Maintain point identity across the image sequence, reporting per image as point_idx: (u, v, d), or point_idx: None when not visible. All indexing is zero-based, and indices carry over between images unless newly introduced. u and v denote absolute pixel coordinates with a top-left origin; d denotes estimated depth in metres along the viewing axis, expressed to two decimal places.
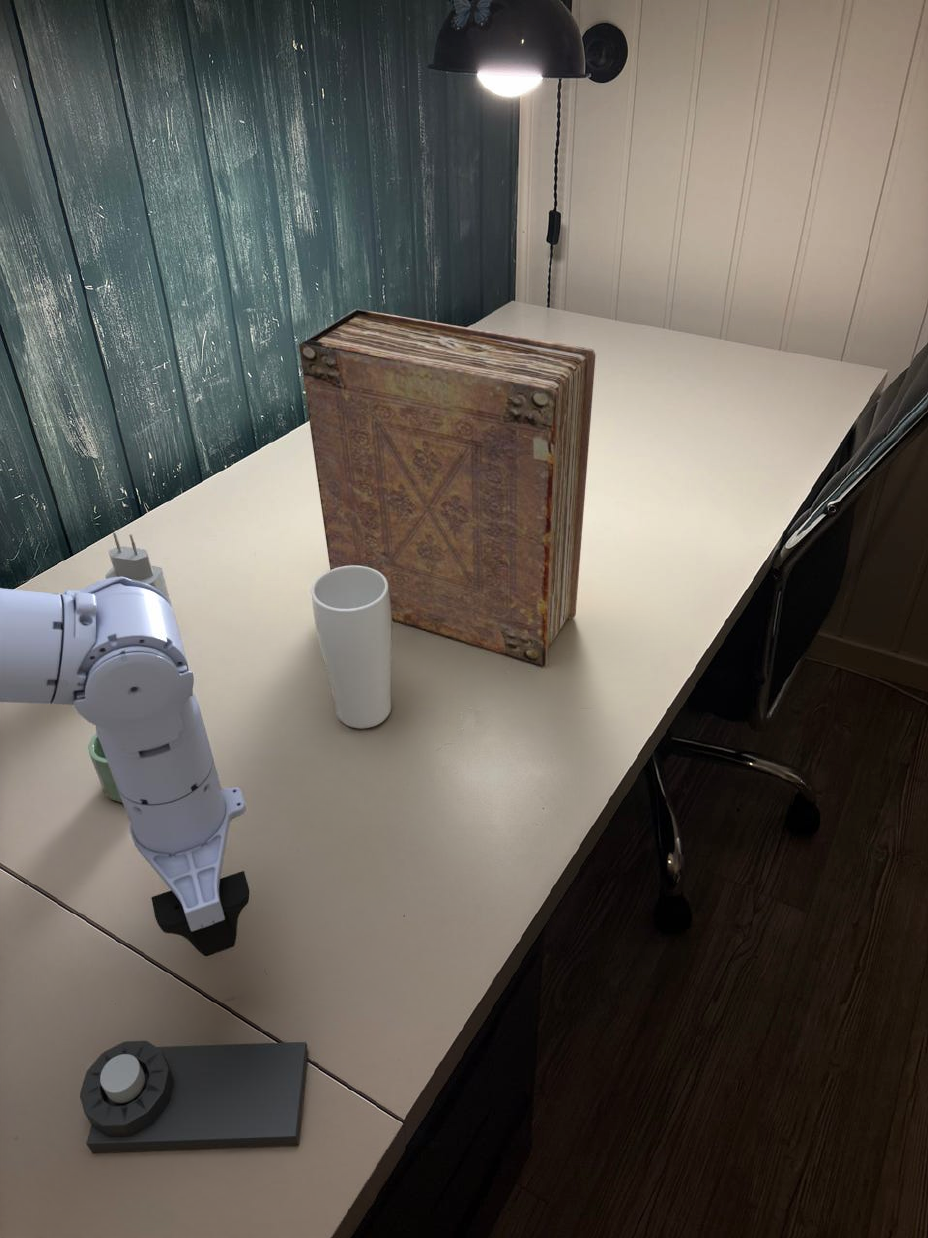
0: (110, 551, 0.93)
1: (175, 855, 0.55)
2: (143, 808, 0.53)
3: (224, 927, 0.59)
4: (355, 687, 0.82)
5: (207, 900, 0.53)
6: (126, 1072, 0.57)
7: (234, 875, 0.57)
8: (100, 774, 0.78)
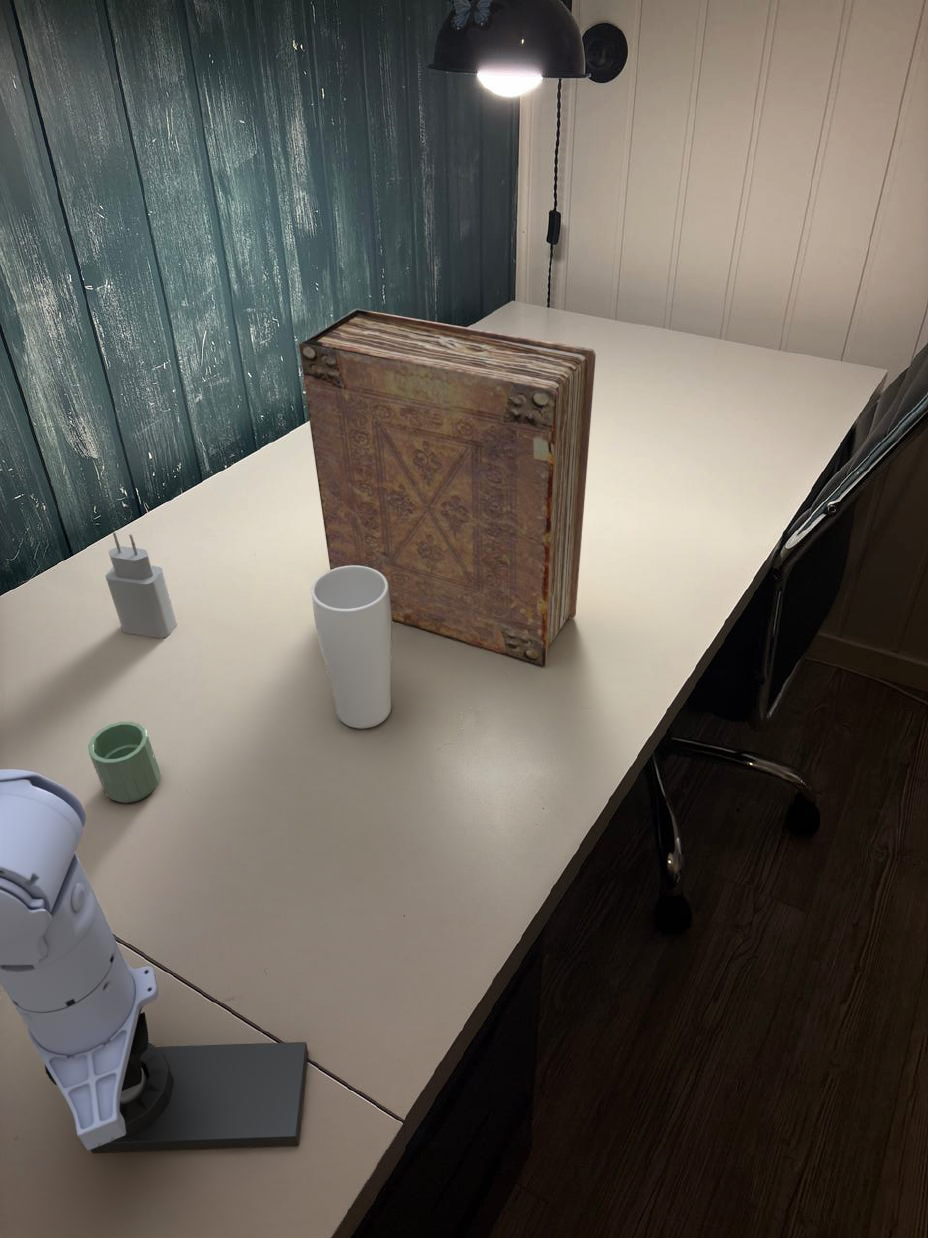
0: (110, 551, 0.93)
1: (74, 1057, 0.50)
2: (33, 1015, 0.48)
3: (127, 1067, 0.56)
4: (355, 687, 0.82)
5: (105, 1116, 0.48)
6: None
7: None
8: (100, 774, 0.78)
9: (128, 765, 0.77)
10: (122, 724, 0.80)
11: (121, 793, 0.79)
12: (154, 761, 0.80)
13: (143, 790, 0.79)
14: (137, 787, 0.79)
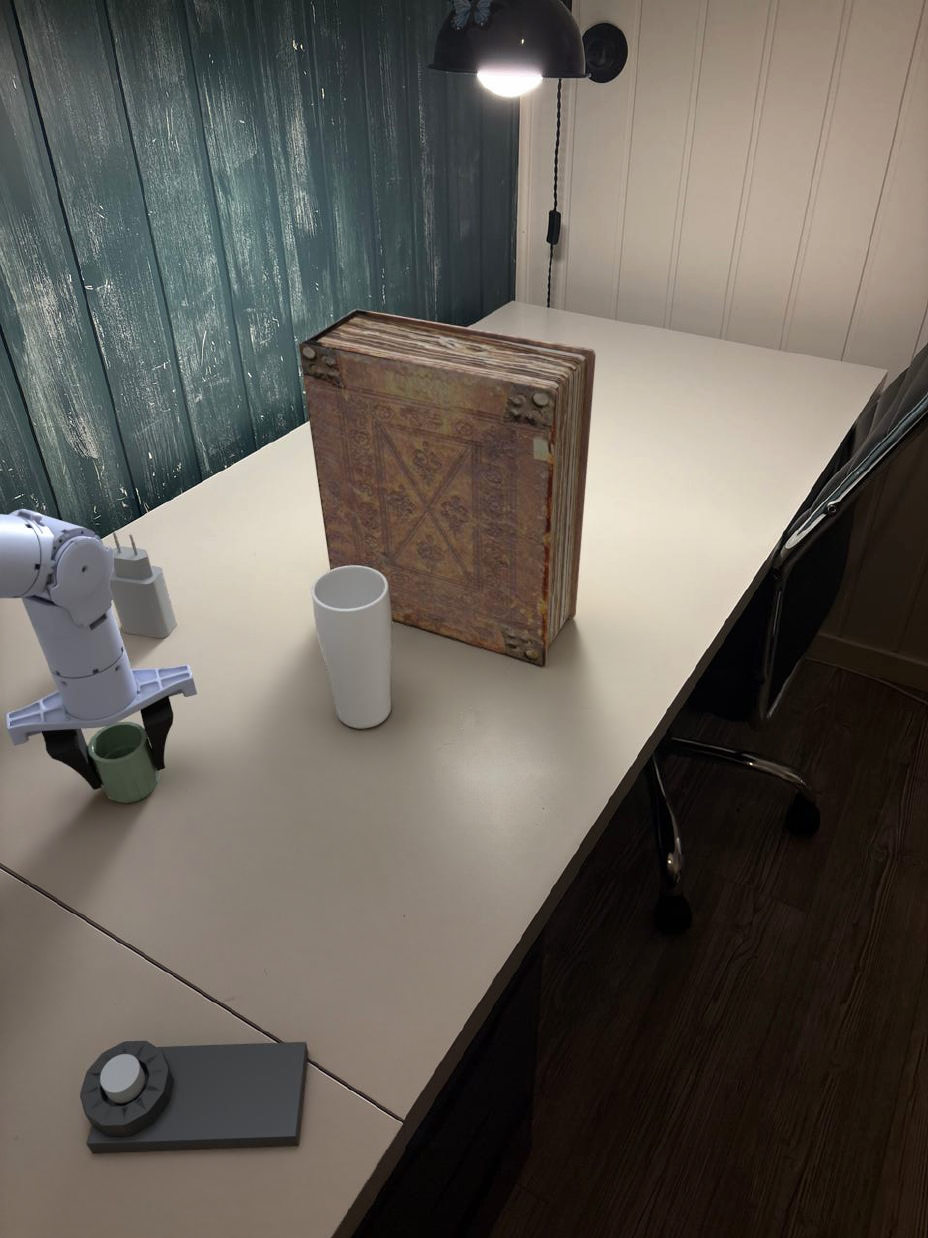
0: None
1: (138, 692, 0.75)
2: (120, 661, 0.72)
3: None
4: (355, 687, 0.82)
5: None
6: (126, 1072, 0.57)
7: None
8: (100, 774, 0.78)
9: (128, 765, 0.77)
10: (122, 724, 0.80)
11: (121, 793, 0.79)
12: (154, 761, 0.80)
13: (143, 790, 0.79)
14: (136, 787, 0.79)
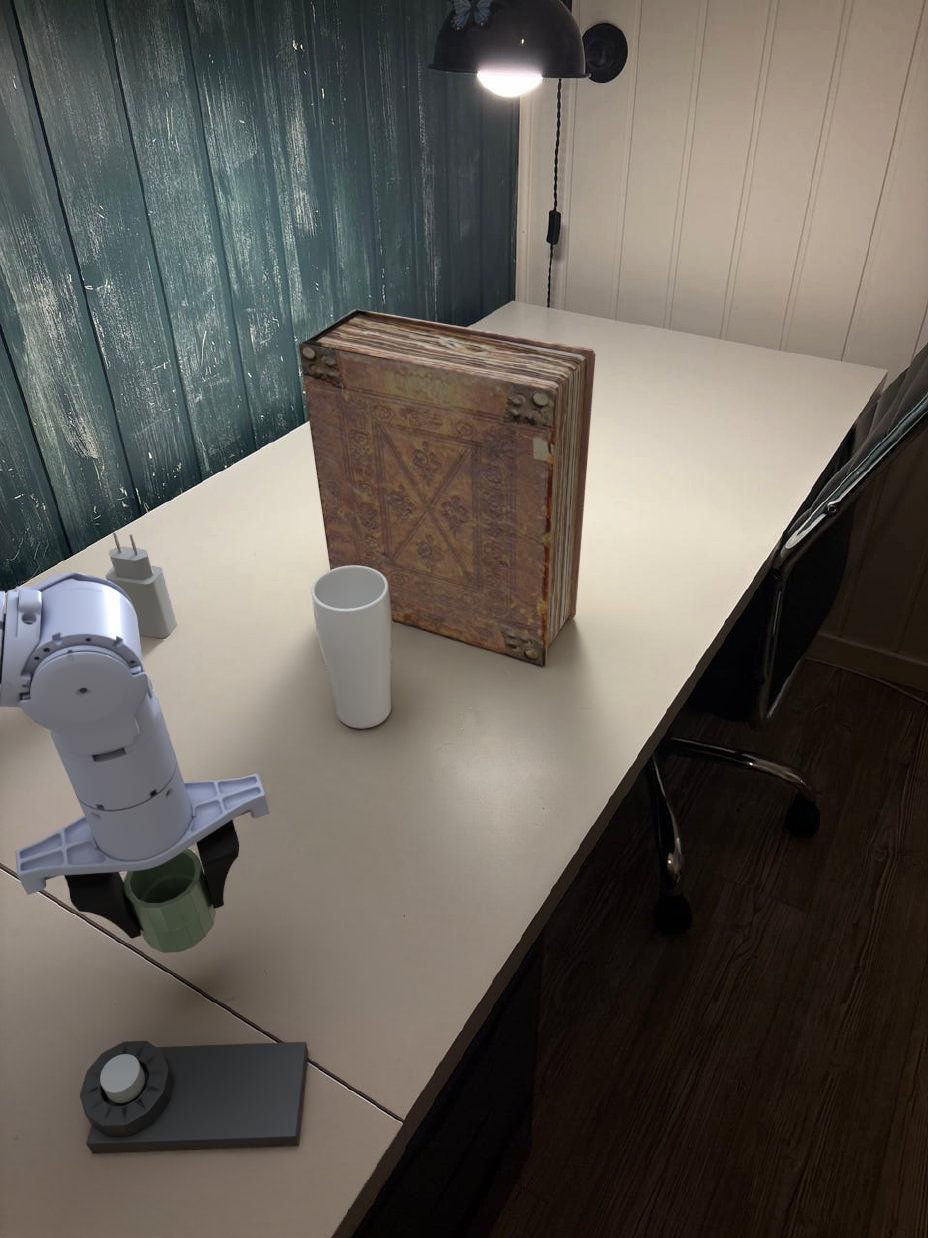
0: (110, 551, 0.93)
1: (194, 816, 0.56)
2: (172, 782, 0.52)
3: None
4: (355, 687, 0.82)
5: None
6: (126, 1072, 0.57)
7: None
8: (140, 920, 0.58)
9: (178, 910, 0.58)
10: None
11: (167, 943, 0.59)
12: (209, 897, 0.61)
13: (195, 937, 0.60)
14: (188, 934, 0.59)
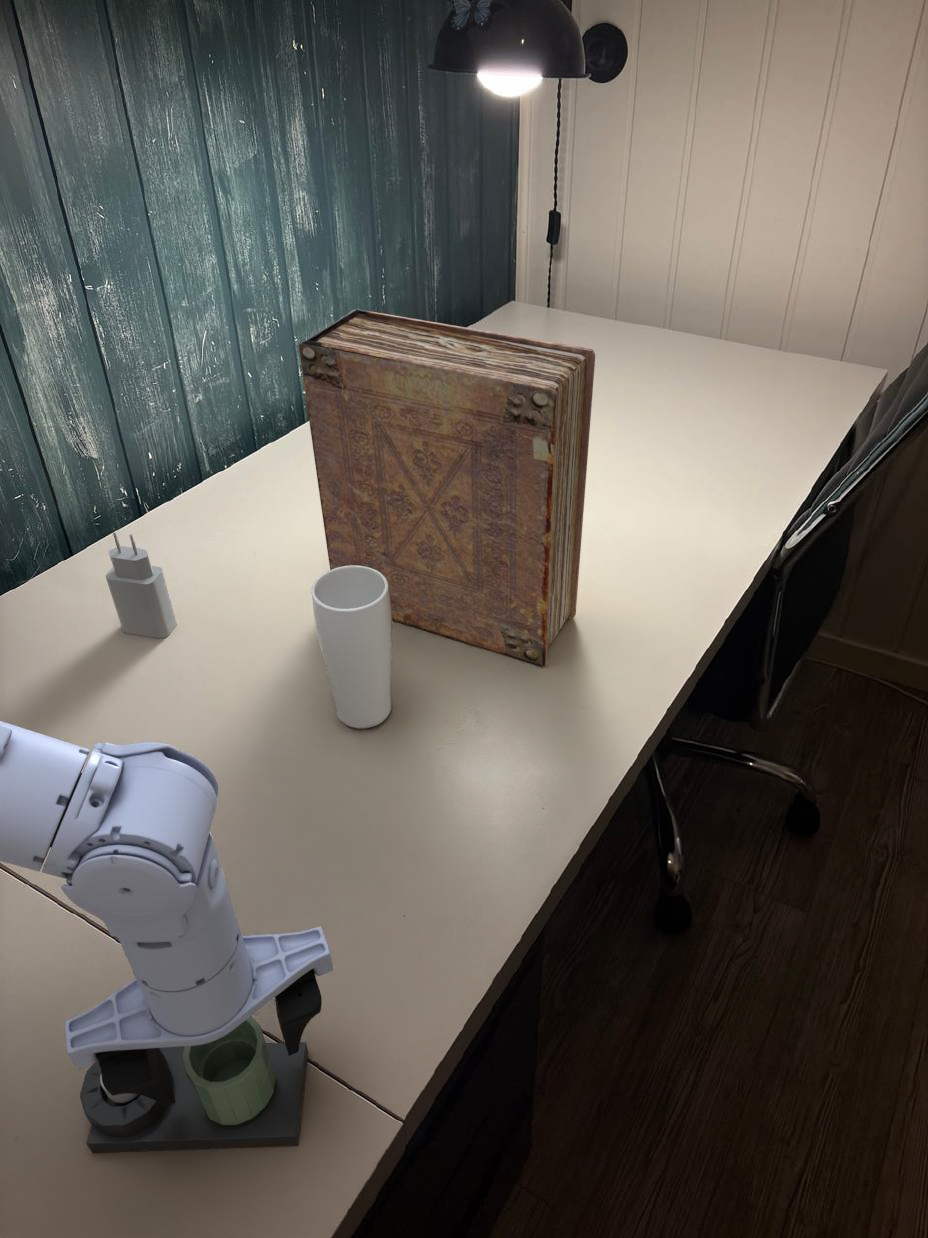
0: (110, 551, 0.93)
1: (255, 979, 0.52)
2: (236, 954, 0.48)
3: None
4: (355, 687, 0.82)
5: None
6: None
7: None
8: (199, 1096, 0.55)
9: (240, 1088, 0.55)
10: None
11: (227, 1117, 0.56)
12: (270, 1065, 0.58)
13: (256, 1109, 0.57)
14: (248, 1107, 0.57)
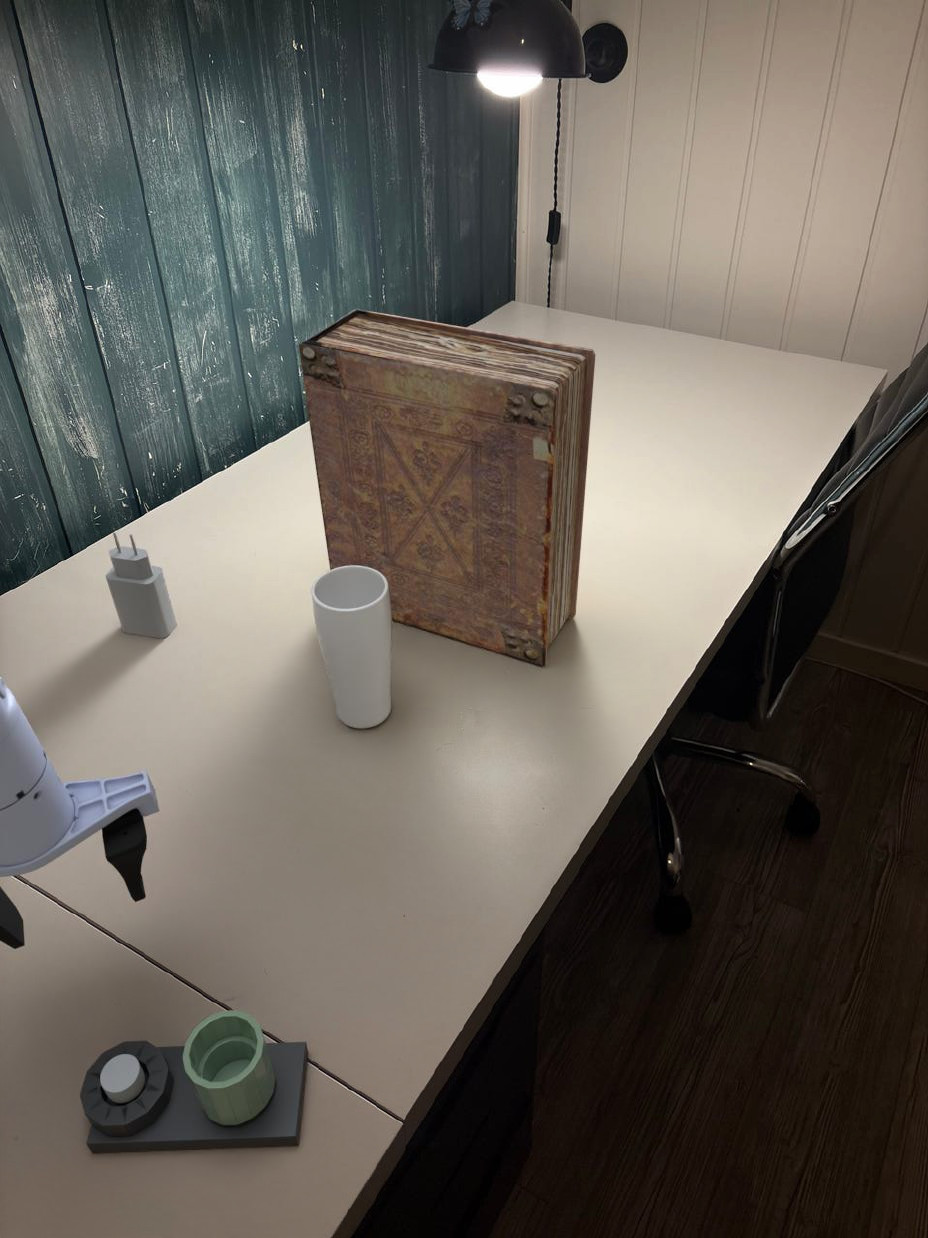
0: (110, 551, 0.93)
1: (76, 817, 0.54)
2: (41, 785, 0.51)
3: None
4: (355, 687, 0.82)
5: None
6: (126, 1072, 0.57)
7: None
8: (199, 1096, 0.55)
9: (240, 1088, 0.55)
10: (226, 1015, 0.57)
11: (227, 1117, 0.56)
12: (270, 1065, 0.58)
13: (256, 1109, 0.57)
14: (248, 1107, 0.57)
